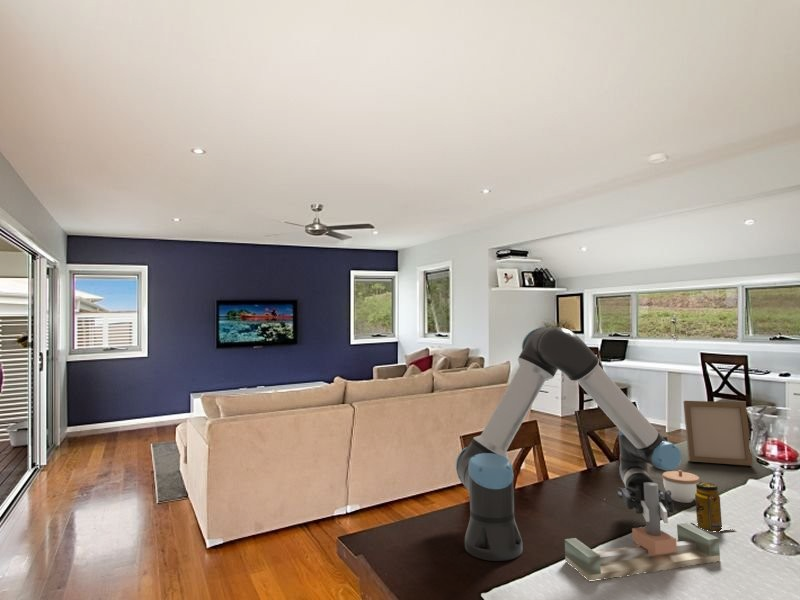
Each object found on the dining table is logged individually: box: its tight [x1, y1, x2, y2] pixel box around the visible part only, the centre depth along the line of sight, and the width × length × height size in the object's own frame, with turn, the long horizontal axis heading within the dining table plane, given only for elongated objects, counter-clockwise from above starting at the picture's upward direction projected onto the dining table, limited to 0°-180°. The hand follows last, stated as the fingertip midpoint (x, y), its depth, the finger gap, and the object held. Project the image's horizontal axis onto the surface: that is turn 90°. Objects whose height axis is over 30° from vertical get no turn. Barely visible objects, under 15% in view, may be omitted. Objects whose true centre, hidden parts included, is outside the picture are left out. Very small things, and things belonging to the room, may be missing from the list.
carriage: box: [631, 482, 677, 556], centre depth 122 cm, size 6×8×16 cm
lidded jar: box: [661, 469, 700, 504], centre depth 162 cm, size 11×11×9 cm
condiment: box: [694, 481, 736, 534], centre depth 140 cm, size 7×8×12 cm
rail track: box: [564, 522, 721, 581], centre depth 121 cm, size 36×10×6 cm, turn 103°
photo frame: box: [683, 400, 754, 467], centre depth 206 cm, size 15×22×25 cm
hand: (656, 516), depth 117 cm, fingers closed on carriage, 3 cm apart
